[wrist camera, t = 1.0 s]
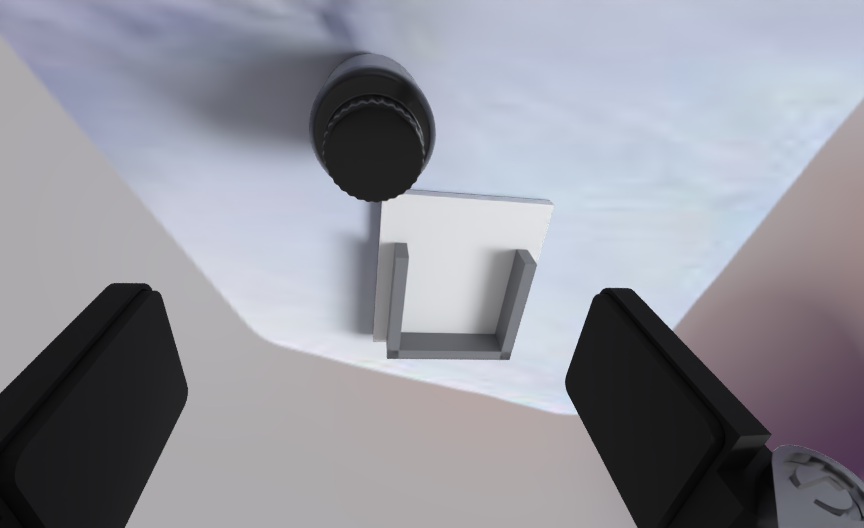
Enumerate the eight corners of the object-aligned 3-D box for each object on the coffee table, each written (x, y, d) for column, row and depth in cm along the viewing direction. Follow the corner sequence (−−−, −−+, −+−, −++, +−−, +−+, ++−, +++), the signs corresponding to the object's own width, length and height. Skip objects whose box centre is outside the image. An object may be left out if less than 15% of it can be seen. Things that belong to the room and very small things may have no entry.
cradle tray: (382, 187, 32) (383, 205, 29) (549, 200, 35) (566, 217, 32) (373, 334, 40) (372, 360, 37) (511, 337, 42) (521, 361, 39)
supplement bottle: (337, 160, 31) (317, 232, 21) (312, 60, 27) (274, 87, 17) (427, 146, 31) (452, 210, 21) (414, 45, 28) (436, 62, 17)
